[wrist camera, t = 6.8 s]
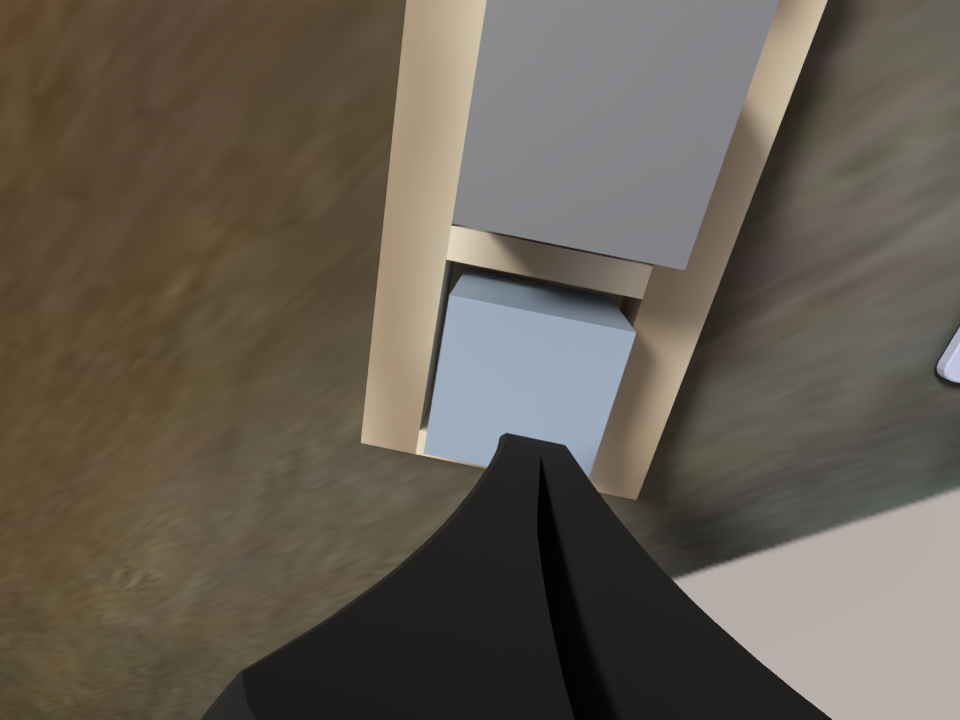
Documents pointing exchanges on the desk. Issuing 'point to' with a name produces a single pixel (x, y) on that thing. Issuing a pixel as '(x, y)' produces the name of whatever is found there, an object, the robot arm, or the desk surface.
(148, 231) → the desk surface
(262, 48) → the desk surface
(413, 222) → the board
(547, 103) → the grey block
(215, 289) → the desk surface
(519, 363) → the light blue block
